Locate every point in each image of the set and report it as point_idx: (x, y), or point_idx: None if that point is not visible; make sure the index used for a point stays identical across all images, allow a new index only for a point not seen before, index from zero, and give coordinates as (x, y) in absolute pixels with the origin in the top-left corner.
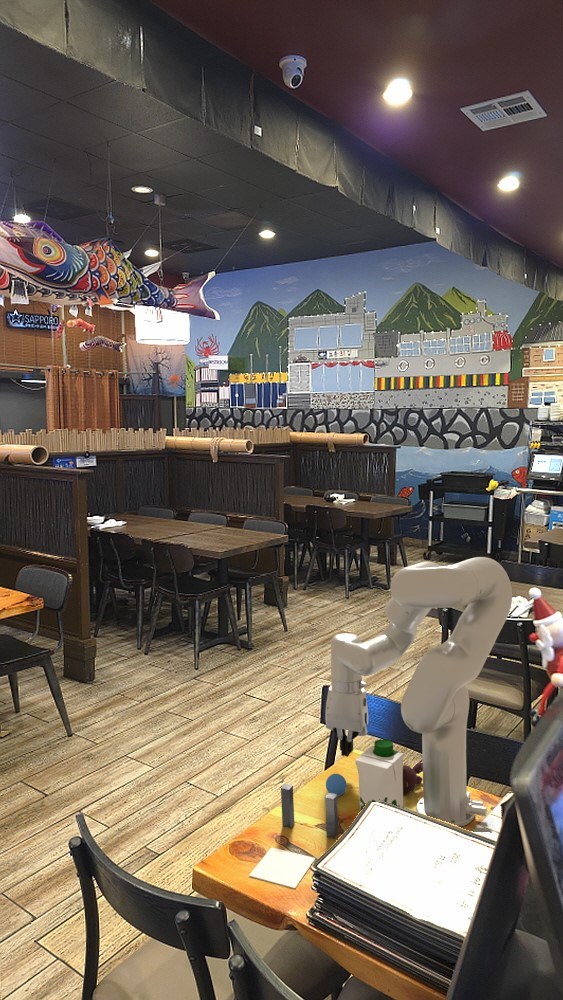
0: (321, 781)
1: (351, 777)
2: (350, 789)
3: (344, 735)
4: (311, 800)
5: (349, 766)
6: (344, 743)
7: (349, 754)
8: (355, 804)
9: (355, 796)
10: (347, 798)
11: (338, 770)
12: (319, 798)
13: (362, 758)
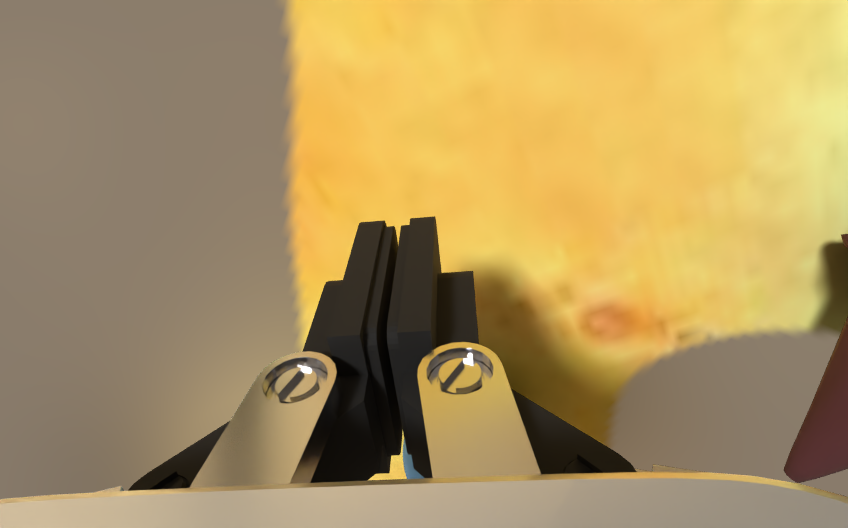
0: (307, 315)
1: (467, 191)
2: (525, 328)
3: (354, 451)
4: (375, 474)
5: (366, 23)
6: (400, 429)
7: (440, 271)
8: (609, 438)
9: (584, 379)
10: (545, 408)
11: (321, 135)
12: (402, 451)
13: None
